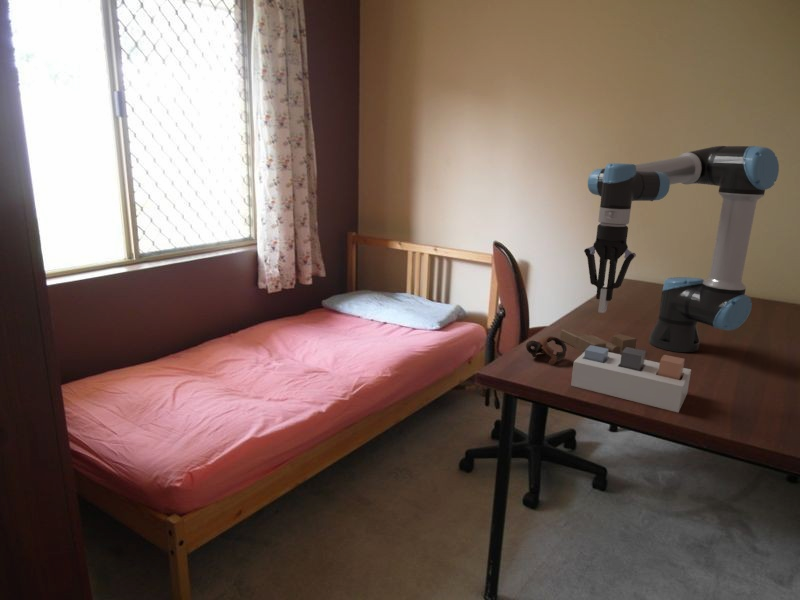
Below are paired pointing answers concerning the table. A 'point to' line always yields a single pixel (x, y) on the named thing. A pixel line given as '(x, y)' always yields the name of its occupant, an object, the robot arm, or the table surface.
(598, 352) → the slate key
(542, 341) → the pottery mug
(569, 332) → the wooden block set
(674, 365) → the terracotta key
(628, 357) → the charcoal key
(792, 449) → the table surface
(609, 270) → the robot arm
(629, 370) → the key console
